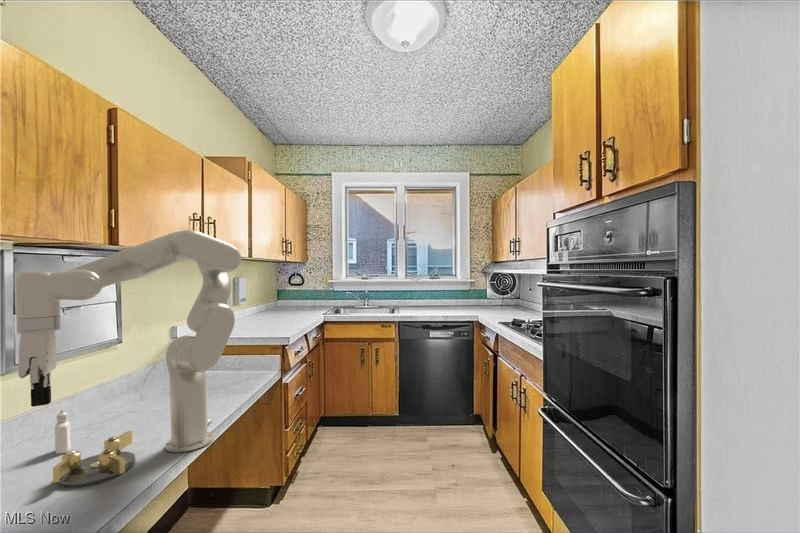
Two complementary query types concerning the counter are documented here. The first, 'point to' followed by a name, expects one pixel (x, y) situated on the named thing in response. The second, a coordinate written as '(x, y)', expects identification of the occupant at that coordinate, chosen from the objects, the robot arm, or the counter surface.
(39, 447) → the counter surface
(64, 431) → the eye dropper bottle
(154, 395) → the counter surface
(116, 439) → the knob
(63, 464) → the knob
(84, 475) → the base
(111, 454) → the knob
